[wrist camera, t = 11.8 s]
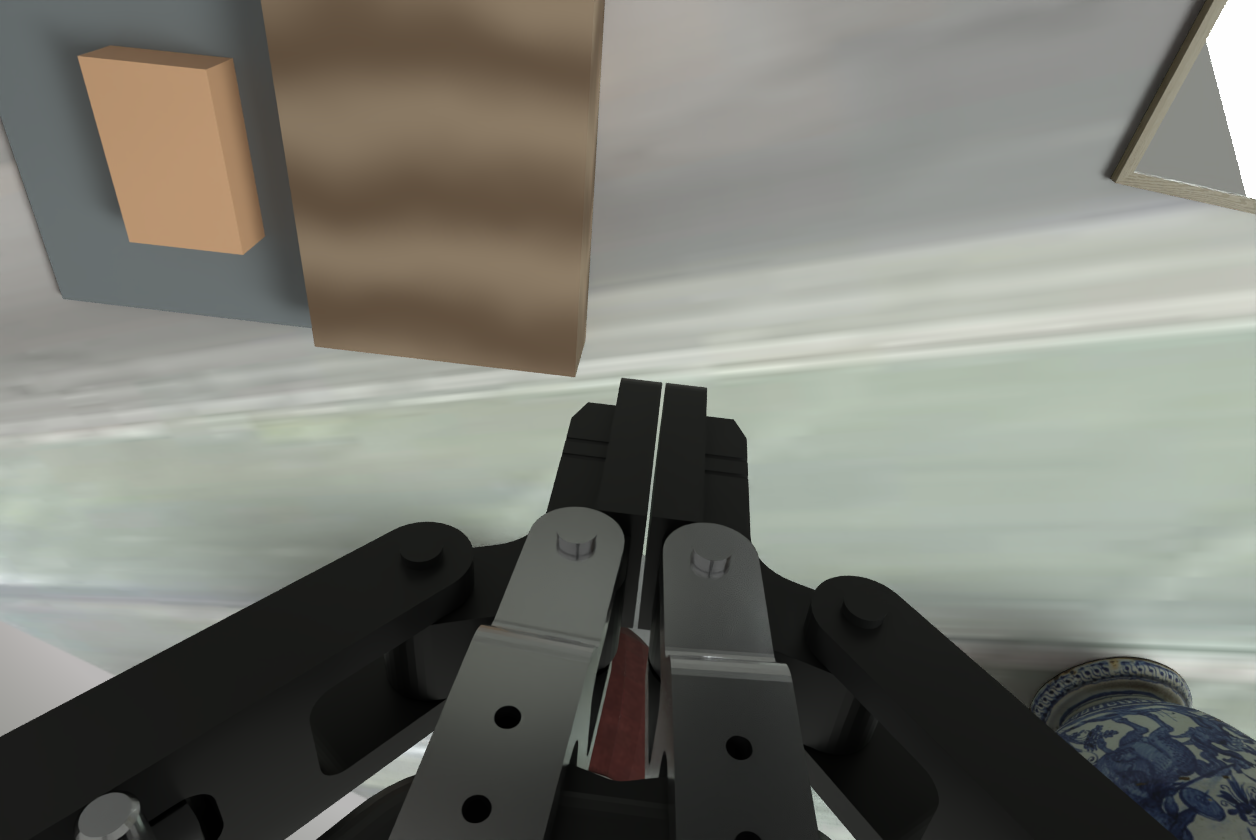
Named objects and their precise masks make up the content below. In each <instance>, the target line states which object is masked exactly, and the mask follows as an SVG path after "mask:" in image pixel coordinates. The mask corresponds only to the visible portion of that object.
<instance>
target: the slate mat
mask: <svg viewBox="0 0 1256 840" xmlns="http://www.w3.org/2000/svg"><path fill="white" fill-rule="evenodd" d="M110 45H112V46H122V47H131V48H140V49H150V50H159V51H169V52H178V53H188V54H197V55H207V56H216V57H225V58H233V62H234V67H235V73H236V78H237V84H238V89H239V95H240V100H241V106H242V111H243V117H244V122H245V128H246V133H247V139H248V144H249V150H250V155H251V161H252V166H253V172H254V178H255V183H256V189H257V194H258V200H259V205H260V211H261V216H262V222H263V227H264V233H265V237H264V238H263V239H261V240H260V241H259V242H258V243H257V244H256V245H254V246H253V247H252V248H251V249H250V250H248V251H247V252H246V253H245V254H244V255H239V254H231V253H222V252H213V251H204V250H196V249H187V248H178V247H169V246H160V245H152V244H143V243H134V242H129V238H128V234H127V231H126V227H125V224H124V220H123V217H122V213H121V210H120V206H119V202H118V199H117V195H116V192H115V188H114V185H113V181H112V177H111V174H110V170H109V167H108V163H107V160H106V156H105V153H104V149H103V145H102V142H101V138H100V135H99V131H98V128H97V124H96V121H95V117H94V113H93V110H92V106H91V103H90V99H89V96H88V92H87V88H86V85H85V81H84V78H83V74H82V71H81V67H80V64H79V60H78V56H79V55H82V54H85V53H88V52H91V51H95V50H98V49H101V48H104V47H107V46H110ZM0 117H1V120H2V122H3V125H4V128H5V131H6V134H7V137H8V140H9V143H10V146H11V149H12V152H13V155H14V157H15V160H16V163H17V166H18V169H19V172H20V175H21V178H22V181H23V184H24V187H25V190H26V192H27V195H28V198H29V201H30V204H31V207H32V210H33V213H34V216H35V219H36V222H37V225H38V227H39V230H40V233H41V236H42V239H43V242H44V245H45V248H46V251H47V254H48V257H49V260H50V263H51V265H52V268H53V271H54V274H55V277H56V280H57V283H58V286H59V289H60V292H61V295H62V298H63V299H68V300H77V301H85V302H94V303H102V304H111V305H119V306H128V307H136V308H145V309H153V310H162V311H170V312H179V313H187V314H196V315H204V316H213V317H221V318H230V319H239V320H247V321H256V322H264V323H273V324H281V325H290V326H298V327H307V328H312V325H311V319H310V312H309V306H308V299H307V293H306V287H305V280H304V274H303V267H302V261H301V255H300V248H299V242H298V235H297V229H296V223H295V216H294V210H293V203H292V197H291V191H290V184H289V178H288V172H287V165H286V159H285V152H284V146H283V140H282V133H281V127H280V120H279V114H278V108H277V101H276V95H275V88H274V82H273V76H272V69H271V63H270V56H269V50H268V44H267V37H266V31H265V24H264V18H263V12H262V5H261V0H0Z"/></svg>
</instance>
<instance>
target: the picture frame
mask: <svg viewBox="0 0 1256 840" xmlns="http://www.w3.org/2000/svg"><path fill="white" fill-rule="evenodd" d="M1111 180H1112V181H1114V182H1115V183H1118V184H1122V185H1127V186H1131V187H1136V188H1140V189H1145V190H1149V191H1154V192H1158V193H1163V194H1167V195H1172V196H1176V197H1181V198H1185V199H1190V200H1194V201H1199V202H1203V203H1208V204H1212V205H1217V206H1221V207H1225V208H1230V209H1234V210H1239V211H1243V212H1248V213H1252V214H1256V0H1206V1H1205V3H1204V5H1203V7H1202V9H1201V11H1200V12H1199V14H1198V16H1197V18H1196V20H1195V22H1194V24H1193V25H1192V27H1191V29H1190V31H1189V33H1188V35H1187V37H1186V39H1185V40H1184V42H1183V44H1182V46H1181V48H1180V50H1179V52H1178V53H1177V55H1176V57H1175V59H1174V61H1173V63H1172V65H1171V67H1170V68H1169V70H1168V72H1167V74H1166V76H1165V78H1164V80H1163V81H1162V83H1161V85H1160V87H1159V89H1158V91H1157V93H1156V95H1155V96H1154V98H1153V100H1152V102H1151V104H1150V106H1149V108H1148V109H1147V111H1146V113H1145V115H1144V117H1143V119H1142V121H1141V123H1140V124H1139V126H1138V128H1137V130H1136V132H1135V134H1134V136H1133V137H1132V139H1131V141H1130V143H1129V145H1128V147H1127V149H1126V151H1125V152H1124V154H1123V156H1122V158H1121V160H1120V162H1119V164H1118V165H1117V167H1116V169H1115V171H1114V173H1113V175H1112V177H1111Z"/></svg>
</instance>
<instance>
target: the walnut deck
mask: <svg viewBox="0 0 1256 840" xmlns="http://www.w3.org/2000/svg"><path fill="white" fill-rule="evenodd" d="M261 5H262V12H263V18H264V24H265V31H266V37H267V44H268V50H269V56H270V63H271V69H272V76H273V82H274V88H275V95H276V101H277V108H278V114H279V120H280V127H281V133H282V140H283V146H284V152H285V159H286V165H287V172H288V178H289V184H290V191H291V197H292V203H293V210H294V216H295V223H296V229H297V235H298V242H299V248H300V255H301V261H302V267H303V274H304V280H305V287H306V293H307V299H308V306H309V312H310V319H311V325H312V331H313V338H314V344H315V346H316V347H324V348H332V349H341V350H349V351H358V352H366V353H375V354H383V355H392V356H400V357H409V358H417V359H426V360H434V361H443V362H451V363H459V364H468V365H476V366H485V367H493V368H502V369H510V370H519V371H527V372H536V373H544V374H553V375H561V376H569V377H575V375H576V372H577V368H578V365H579V361H580V358H581V354H582V350H583V347H584V343H585V337H586V320H587V302H588V285H589V268H590V250H591V233H592V215H593V198H594V180H595V163H596V145H597V128H598V111H599V93H600V76H601V58H602V41H603V23H604V6H605V0H261Z"/></svg>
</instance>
